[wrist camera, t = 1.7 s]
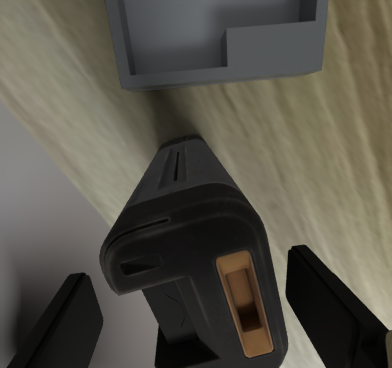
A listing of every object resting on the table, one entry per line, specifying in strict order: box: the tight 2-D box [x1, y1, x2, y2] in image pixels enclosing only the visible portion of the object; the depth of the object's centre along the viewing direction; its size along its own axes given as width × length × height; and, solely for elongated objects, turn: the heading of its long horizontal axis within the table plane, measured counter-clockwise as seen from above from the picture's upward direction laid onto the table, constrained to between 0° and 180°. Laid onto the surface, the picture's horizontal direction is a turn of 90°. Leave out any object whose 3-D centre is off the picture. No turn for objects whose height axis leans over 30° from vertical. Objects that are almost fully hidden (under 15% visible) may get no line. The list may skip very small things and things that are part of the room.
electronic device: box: [99, 134, 288, 368], centre depth 17 cm, size 9×6×20 cm, turn 16°
